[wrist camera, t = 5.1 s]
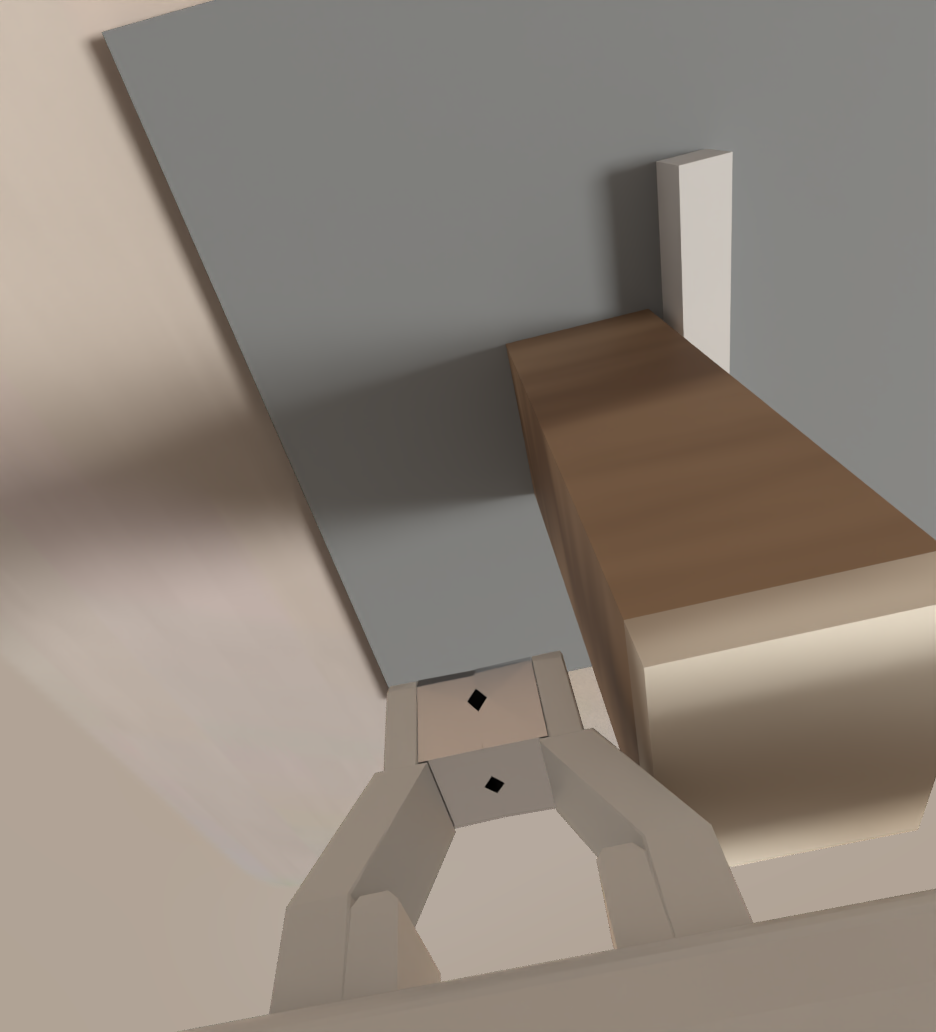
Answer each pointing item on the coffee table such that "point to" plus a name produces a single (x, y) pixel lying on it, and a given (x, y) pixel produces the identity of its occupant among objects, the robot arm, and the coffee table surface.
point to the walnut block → (733, 591)
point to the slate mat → (543, 252)
